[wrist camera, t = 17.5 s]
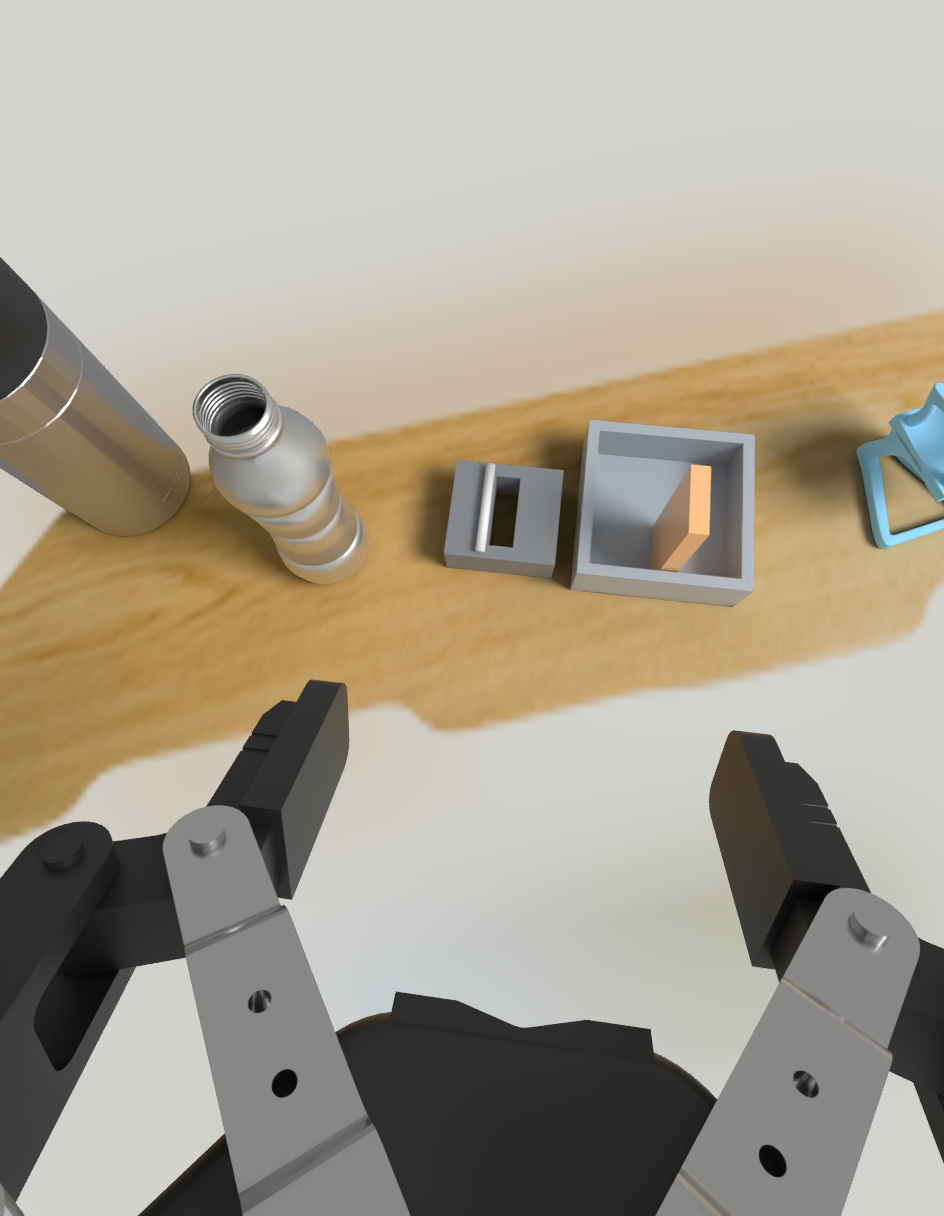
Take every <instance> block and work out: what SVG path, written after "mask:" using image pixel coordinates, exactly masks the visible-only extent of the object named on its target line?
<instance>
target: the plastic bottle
mask: <svg viewBox="0 0 944 1216" xmlns="http://www.w3.org/2000/svg"><path fill="white" fill-rule="evenodd" d="M193 417H194V420H195V422H196V424H197V426H198V428H199V429H200V430H201V431H202V433H203V434H204V436H205V438H206V439H207V442H208V443H209V444H210V445H211V446H210V451H209V466H210V470H211V474H212V478H213V482H214V484H215V486H216V488H217V489H218V491H219V492H220V493H221V495H222V496H223V497H224V498H225V499H226V500H227V501H229V502H230V503H231V504H232V505H233V506H235V507H236V508H237V509H239V510H240V511H242V512H243V513H245V514H246V515H248V516H249V517H251V518H252V519H254V520H255V521H257V522H258V523H259V524H260V525H261V526H262V527H263V528H264V529H265V530H266V531H267V532H268V533H269V534H270V536H271V537H272V539H273V540H274V542H275V544H276V548H277V551H278V553H279V555H280V557H281V559H282V561H283V563H284V564H285V565H286V567H287V568H288V569H289V570H290V571H291V572H293V573H294V574H295V575H297V576H299V577H301V578H303V579H305V580H307V581H309V582H312V583H316V584H334V583H337V582H341V581H343V580H345V579H347V578H349V577H351V576H352V575H353V574H354V573H356V572H357V571H358V570H359V568H360V567H361V566H362V565H363V563H364V561H365V560H366V557H367V554H368V549H369V535H368V529H367V526H366V523H365V521H364V519H363V518H362V516H361V515H360V514H359V513H358V511H357V510H356V509H355V508H354V507H353V506H352V505H351V504H350V503H349V502H347V501H346V499H345V498H344V497H343V495H342V494H341V492H340V491H339V488H338V486H337V483H336V480H335V478H334V473H333V467H332V462H331V456H330V453H329V449H328V446H327V444H326V441H325V438H324V436H323V435H322V433H321V431H320V430H319V429H318V428H317V426H316V425H314V423H313V422H311V421H310V420H309V419H307V418H306V417H305V416H303V415H302V414H300V413H299V412H298V411H295V410H293V409H291V408H288V407H284V406H280V405H278V404H277V403H276V401H275V400H274V399H273V398H272V397H271V396H270V395H269V393H268V392H267V390H266V389H265V388H264V387H263V385H262V384H260V383H259V382H258V381H257V380H255V379H254V378H251V377H249V376H246V375H242V374H231V375H224V376H221V377H218V378H216V379H214V380H212V381H210V382H209V383H207V384H206V385H205V386H204V387H203V388H202V389H201V390H200V392H199V393H198V394H197V396H196V398H195V400H194V404H193Z"/></svg>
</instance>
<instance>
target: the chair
mask: <svg viewBox="0 0 944 1216" xmlns="http://www.w3.org/2000/svg"><path fill="white" fill-rule="evenodd" d="M889 424H890V426H891V427H892V430H891V433H890V434H889V435H888V436H887V437H884V438H881V439H878V440H875V441H871V442H867V443H865V444H863V445H862V446H860V447H859V448H857V450H856V454H857V457H858V460H859V464H860V467H861V471H862V476H863V481H864V486H865V492H866V498H867V504H868V510H869V515H870V521H871V526H872V531H873V535H874V539H875V542H876V544H877V546H878V547H879V548H880V549H886V548H889V547H892V546H895V545H898V544H901V543H904V542H906V541H909V540H912V539H915V538H918V537H921V536H924V535H927V534H930V533H933V532H936V531H939V530H942V529H944V519H942V520H939V521H936V522H933V523H930V524H927V525H923V526H920V527H917V528H914V529H911V530H908V531H905V532H902V533H899V534H896V535H891V534H890V532H889V527H888V520H887V513H886V505H885V497H884V489H883V482H882V475H881V468H880V463H879V458H878V457H881V456H890V455H893V456H896V457H897V458H898V459H899V460H900V461H901V462H902V463H903V464H904V465H905V466H906V467H907V468H908V469H910V470H911V471H912V472H913V473H914V474H915V475H916V476H917V477H919V478H920V479H921V480H922V481H923V482H924V483H925V485H926V487H927V488H928V490H929V492H930V493H931V495H932V497H933V498H934V500H935V502H939V501H942V500H944V385H943V384H942V383H939V382H937V383H935V384H934V386H933V388H932V390H931V392H930V394H929V396H928V398H927V401H926V403H925V405H924V406H923V407H921V408H917V409H914V410H911V411H908V412H904V413H901V414H898V415H896V416H895V417H894V418H893V419H891V420H890V421H889Z"/></svg>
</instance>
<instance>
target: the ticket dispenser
mask: <svg viewBox="0 0 944 1216" xmlns="http://www.w3.org/2000/svg"><path fill="white" fill-rule="evenodd" d="M563 472H564V470H557V469H546V468H536V467H525V466H514V465H504V464H493V463H483V462H472V461H461V460H457V463H456V470H455V477H454V485H453V492H452V499H451V506H450V513H449V520H448V527H447V534H446V541H445V548H444V557H445V562H446V566H447V567H449V568H458V569H468V570H478V571H487V572H497V573H506V574H516V575H525V576H535V577H544V578H551V577H552V574H553V570H554V567H555V558H556V548H557V537H558V526H559V515H560V505H561V494H562V483H563ZM496 494H505V495H516V496H519V498H518V507H517V516H516V525H515V534H514V543H513V548H511V547H501V546H491V545H490V542H491V534H492V526H493V518H494V509H495V501H496Z"/></svg>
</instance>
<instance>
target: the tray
mask: <svg viewBox="0 0 944 1216" xmlns="http://www.w3.org/2000/svg"><path fill="white" fill-rule="evenodd" d="M691 465H702V466H711V492H710V529H709V536H708V537H707V538H706V540H705V541H704V542H703V543H702V544H701V545H700V546H699V548H698V549H697V550H696V551H695V552H694V553H693V554H692V556H691V557H690V558H689V559H688V560H687V561H686V563H685V564H684V565H683V566H682V567H681V568H680V569H679V571H678V572H669V571H659V570H650V561H651V542H652V527H653V525H654V524H655V522H656V521H657V519H658V517H659V516H660V514H661V513H662V511H663V509H664V508H665V506H666V504H667V503H668V501H669V500H670V498H671V496H672V495H673V493H674V492H675V490H676V488H677V487H678V485H679V483H680V482H681V480H682V479H683V477H684V475H685V474H686V472H687V471H688V469H689V467H690V466H691ZM754 476H755V435H753V434H741V433H730V432H719V431H708V430H696V429H685V428H674V427H663V426H652V425H640V424H629V423H618V422H607V421H595V420H589V424H588V428H587V432H586V436H585V439H584V443H583V447H582V458H581V470H580V482H579V494H578V505H577V517H576V529H575V540H574V552H573V564H572V575H571V587H570V590H577V591H587V592H596V593H606V594H615V595H624V596H634V597H643V598H653V599H662V600H672V601H681V602H691V603H700V604H709V605H719V606H728V607H733V606H734V605H736V604H737V603H739V602H740V601H741V600H743V599H744V598H745V597H747V596H748V595H749V594H751V593H752V592H753V591H754Z"/></svg>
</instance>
